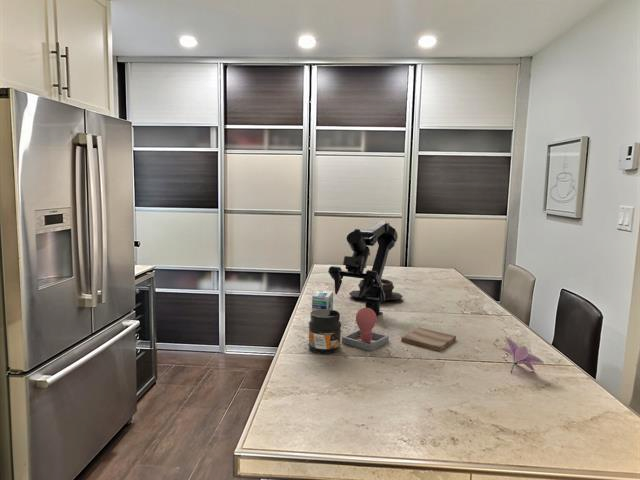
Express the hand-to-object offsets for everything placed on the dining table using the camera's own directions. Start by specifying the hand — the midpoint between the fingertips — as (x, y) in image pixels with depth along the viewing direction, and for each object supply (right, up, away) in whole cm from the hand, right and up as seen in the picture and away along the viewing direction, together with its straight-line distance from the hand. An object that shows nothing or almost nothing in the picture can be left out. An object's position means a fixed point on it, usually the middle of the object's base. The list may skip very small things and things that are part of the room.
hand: (347, 295), depth 158 cm
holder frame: (+6, -15, -7) cm, 17 cm away
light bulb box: (-9, -12, +17) cm, 22 cm away
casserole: (+16, -8, +51) cm, 54 cm away
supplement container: (-8, -16, -14) cm, 23 cm away
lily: (+49, -19, -27) cm, 59 cm away
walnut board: (+28, -15, -4) cm, 32 cm away
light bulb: (+6, -15, -7) cm, 18 cm away
